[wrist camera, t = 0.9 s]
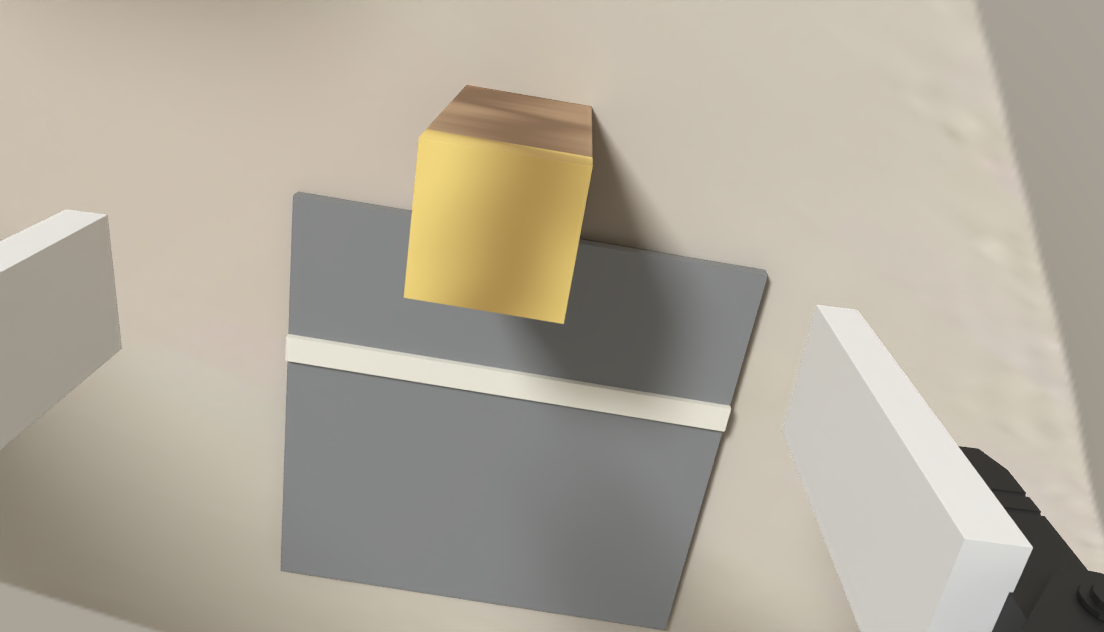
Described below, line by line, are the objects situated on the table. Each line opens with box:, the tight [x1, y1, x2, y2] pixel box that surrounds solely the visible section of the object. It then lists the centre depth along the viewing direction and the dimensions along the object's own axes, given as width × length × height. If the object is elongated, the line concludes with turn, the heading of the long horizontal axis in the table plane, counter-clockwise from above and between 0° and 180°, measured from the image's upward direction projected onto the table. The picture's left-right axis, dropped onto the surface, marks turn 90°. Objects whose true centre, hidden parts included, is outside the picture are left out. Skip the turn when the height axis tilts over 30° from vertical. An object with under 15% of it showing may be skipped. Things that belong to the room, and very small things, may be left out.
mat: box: [281, 192, 768, 630], centre depth 38 cm, size 20×20×1 cm
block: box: [404, 85, 593, 324], centre depth 29 cm, size 5×5×10 cm
